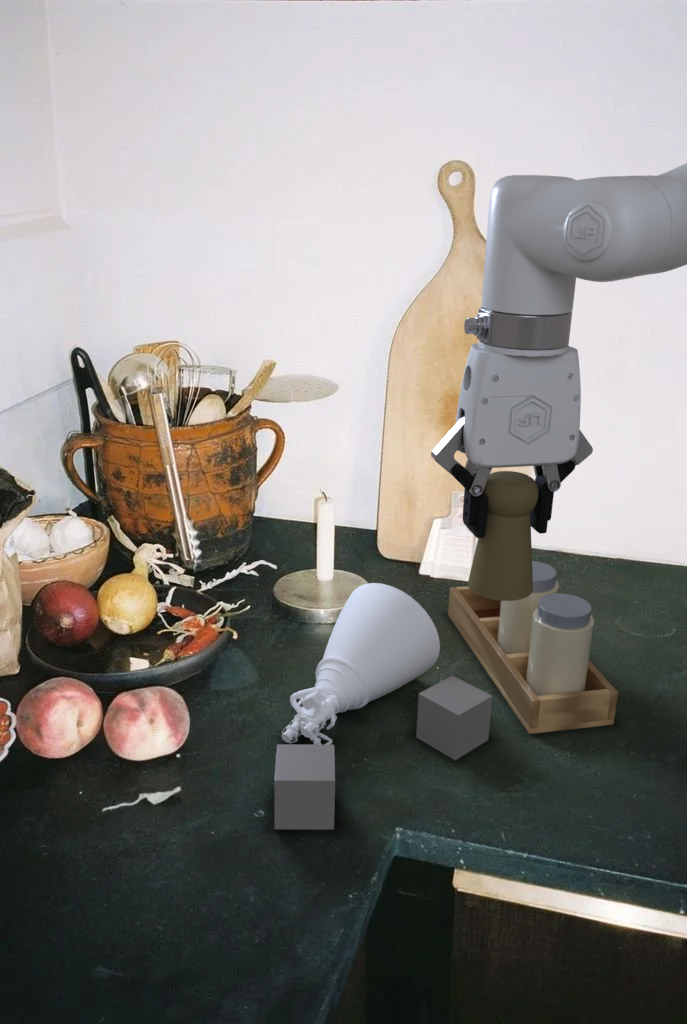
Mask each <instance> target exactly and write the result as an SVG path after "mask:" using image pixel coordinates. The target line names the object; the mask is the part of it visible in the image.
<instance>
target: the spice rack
mask: <svg viewBox="0 0 687 1024" xmlns="http://www.w3.org/2000/svg"><path fill="white" fill-rule="evenodd" d="M500 605H501V601H500V600H493V599H488V598H485V597H482V596H480V595H478V594H476V593H474V592H473V591H472V590H471V589H470V588H469V586H468V585H466V586H451V587H449V595H448V608H447V616H448V617H449V619H450V621H451V622H452V623H453V624H454V626H455V628H456V629H457V631H458V632H459V633H460V635H461V636H462V638H463V640H464V641H465V642H466V643H467V645H468V647H469V648H470V650H471V652H473V654H474V655H475V657H476V658H477V661H478V662H479V663H480V664H481V666H482V667H483V669H484V670H485V671H486V673H487V675H488V676H489V677H490V679H491V680H492V682H493V683H494V685H495V686H496V688H497V689H498V690H499V692H500V694H501V695H502V696H503V698H504V700H506V702H507V704H508V705H509V707H510V708H511V710H512V711H513V713H514V714H515V716H516V717H517V719H518V720H519V722H520V723H521V724H522V726H523V727H524V729H525V731H527V733H528V734H529V735H532V734H542V733H551V732H558V731H569V730H577V729H586V728H595V727H603V726H614V723H615V718H616V717H615V716H616V709H617V704H618V697H619V691H618V690H617V689H616V688H615V687H614V686H613V685H612V683H610V682H609V680H608V679H607V678H606V677H605V676H604V675H603V674H602V673H601V671H600V670H599V669H598V668H597V667H596V666H595V665H594V663H593V662H592V661H591V660H590V659H589V665H588V672H587V679H586V687H585V691H582V692H572V693H562V694H553V695H543V696H536V694H535V693H534V691H533V690H532V689H531V687H530V686H529V685H528V683H527V682H526V675H527V666H528V657H529V652H526V653H515V654H505V653H504V651H503V650H502V648H501V647H500V646H499V644H498V643H497V637H498V626H499V616H500Z"/></svg>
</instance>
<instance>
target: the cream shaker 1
mask: <svg viewBox="0 0 687 1024" xmlns="http://www.w3.org/2000/svg"><path fill="white" fill-rule="evenodd" d="M532 572H533V591H532V594H530V595H529V596H528V597H526V598H523V599H520V600H513V601H501V605H500V616H499V626H498V637H497V643H498V644H499V646H500V647H501V648H502V650H503V651H504V653H505V654H515V653H526V652H529V647H530V638H531V629H532V620H533V612H534V611H535V609H537V608H538V602H539V600H540V598H542V597H543V596H545V595H549V594H557V593H558V594H559V591H560V584H559V582H558V580H557V569H555V568H554V567H553V566H551V565H550V564H547V563H545V562H542V561H536V560H532Z"/></svg>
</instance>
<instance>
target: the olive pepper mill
mask: <svg viewBox="0 0 687 1024" xmlns="http://www.w3.org/2000/svg"><path fill="white" fill-rule="evenodd" d="M484 494H485V495H486V496H487V497H488V510H487V522H486V533H485V536H483V538H477V541H476V544H475V549H474V553H473V559H472V564H471V568H470V572H469V575H468V581H467V586H469V588H470V589H471V590H472V591H473V592H474V593H476V594H478V595H480V596H482V597H485V598H488V599H493V600H500V601H513V600H520V599H523V598H526V597H528V596H529V595H530V594H532V591H533V572H532V561H533V552H532V551H533V549H532V548H533V547H532V527H531V519H530V512H531V511H532V510H533V509H534V508H535V505H536V503H537V500H538V494H539V492H538V486H537V484H536V482H535V478H533V477H531V476H530V475H528V474H525V473H523V472H519V471H512V470H499V471H494V472H491V473H490V475H489V478H488V480H487V483H486V485H485V488H484Z"/></svg>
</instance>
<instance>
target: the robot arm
mask: <svg viewBox="0 0 687 1024" xmlns="http://www.w3.org/2000/svg"><path fill="white" fill-rule="evenodd" d="M486 226H487V227H486V240H485V255H484V264H483V265H484V267H483V280H482V291H481V307H479V308H478V313H477V315H476V316H475V315H474V317H466V318H465V320H464V324H463V330H464V333H465V334H466V335H473V336H475V337H476V339H477V340H478V343H473V344H471V346H470V349H469V352H468V356H467V359H466V363H465V367H464V371H463V375H462V380H461V384H460V389H459V394H458V401H457V408H456V416H455V424H454V425H453V426H452V428H450V430H449V431H448V432H447V433H446V435H445V436H443V438H442V439H441V440H440V442H438V443H437V445H436V446H435V447H434V448H433V449H432V451H431V452H430V457H431V459H433V460H434V462H435V463H437V465H439V466H440V467H441V468H443V469H444V470H445V471H446V472H447V473H449V474H450V475H451V476H452V477H453V478H454V479H455V480H456V481H457V482H458V483H459V484H460V485H461V486H462V487H463V488H464V492H463V502H462V503H463V504H462V506H463V507H462V523H463V524H464V526H465V527H466V529H468V530H469V531H470V533H471V534H472V535H473V536H474V537H475V538H476V539H478V538H483V536H485V533H486V522H487V510H488V497H487V496H486V495H485V494H484V488H485V485H486V483H487V480H488V478H489V475H490V474H491V473H492V470H493V469H500V468H518V467H519V468H521V467H532V468H533V471H534V477H535V478H534V481H535V482H536V484H537V486H538V492H539V494H538V500H537V503H536V505H535V508H534V509H533V510H532V511H531V512H530V519H531V529H533V530H534V531H535V532H537V533H538V534H539V535H540V534H546V533H547V531H548V525H549V524H548V523H549V521H551V519H552V515H553V514H552V513H553V504H554V496H555V495H554V494H555V493H556V492H557V491H559V490H560V489H561V487H562V482H564V481H565V480H566V478H568V476H570V475H571V473H573V472H574V470H575V469H576V466H579V465H580V464H581V463H583V462H584V461H585V460H586V459H587V458H589V456H591V455H592V453H593V451H594V448H593V446H592V445H591V444H590V442H589V440H588V439H587V438H586V436H585V435H584V433H583V432H582V430H581V429H580V427H581V404H582V401H581V400H582V392H581V391H582V389H581V387H582V386H581V369H580V359H579V350H578V349H577V348H576V347H573V346H570V345H569V344H570V338H571V328H572V318H573V309H574V301H575V292H576V282H577V279H580V280H582V281H583V280H584V281H589V282H596V283H610V282H617V281H622V280H623V281H624V280H627V279H628V280H630V279H633V278H638V277H642V276H649V275H656V274H662V273H663V274H664V273H666V272H669V271H672V270H676V269H679V268H682V267H684V266H687V162H686V163H684V164H681V165H679V166H678V167H674V168H673V169H671V170H668V171H666V172H664V173H660V174H657V175H652V174H651V175H650V174H649V175H648V174H647V175H613V176H612V175H611V176H608V175H607V176H597V177H590V178H581V179H575V178H572V177H569V176H561V175H545V174H543V175H542V174H540V175H539V174H513V175H511V174H510V175H506V176H503V177H501V178H499V179H498V180H496V182H495V183H494V184H493V186H492V188H491V191H490V195H489V201H488V213H487V225H486ZM457 451H458V452H459V453H461V454H465V457H466V459H467V460H466V462H465V465H464V466H463V465H462V464H461V462H459V461H458V460H457V459H455V454H456V453H457Z"/></svg>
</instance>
